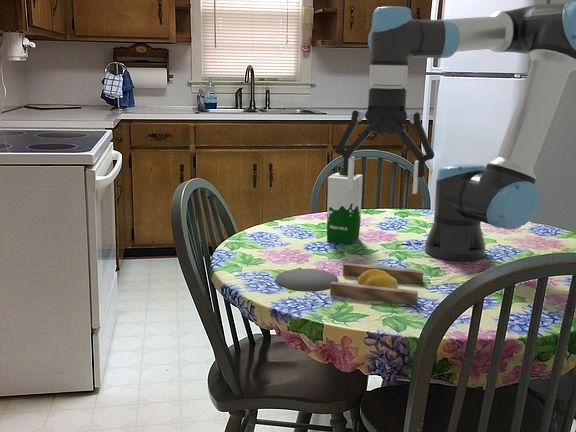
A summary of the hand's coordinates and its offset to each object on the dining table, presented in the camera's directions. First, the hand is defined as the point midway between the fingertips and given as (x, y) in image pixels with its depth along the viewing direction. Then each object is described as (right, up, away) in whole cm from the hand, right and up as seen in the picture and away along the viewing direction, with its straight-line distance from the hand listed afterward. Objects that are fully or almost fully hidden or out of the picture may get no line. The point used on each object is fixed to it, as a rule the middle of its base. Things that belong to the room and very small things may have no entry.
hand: (382, 190), depth 133 cm
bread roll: (0, -21, +5) cm, 22 cm away
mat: (-16, -20, +9) cm, 27 cm away
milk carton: (-5, -12, +42) cm, 44 cm away
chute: (0, -21, +5) cm, 22 cm away
